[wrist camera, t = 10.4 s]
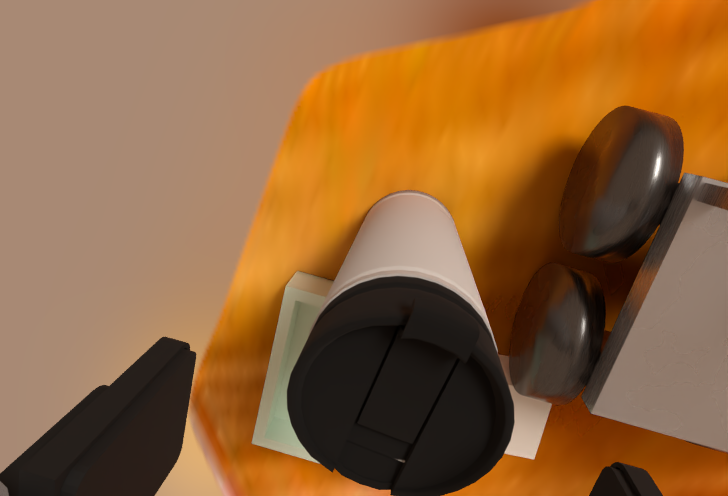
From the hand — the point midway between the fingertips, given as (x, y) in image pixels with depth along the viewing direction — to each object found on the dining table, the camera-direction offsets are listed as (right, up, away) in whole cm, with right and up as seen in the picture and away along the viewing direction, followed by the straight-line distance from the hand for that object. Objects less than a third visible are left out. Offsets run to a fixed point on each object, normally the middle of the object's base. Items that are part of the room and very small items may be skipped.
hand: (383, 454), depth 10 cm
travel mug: (+3, +6, +21) cm, 22 cm away
